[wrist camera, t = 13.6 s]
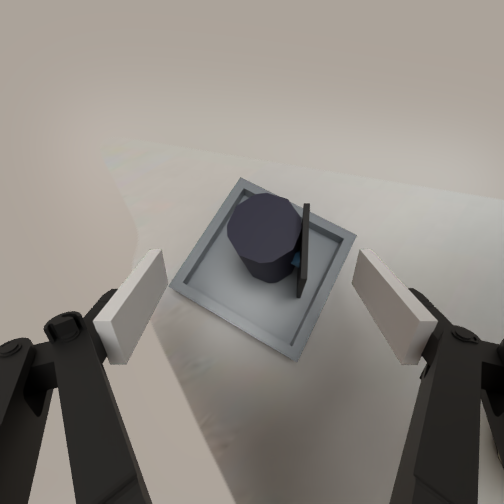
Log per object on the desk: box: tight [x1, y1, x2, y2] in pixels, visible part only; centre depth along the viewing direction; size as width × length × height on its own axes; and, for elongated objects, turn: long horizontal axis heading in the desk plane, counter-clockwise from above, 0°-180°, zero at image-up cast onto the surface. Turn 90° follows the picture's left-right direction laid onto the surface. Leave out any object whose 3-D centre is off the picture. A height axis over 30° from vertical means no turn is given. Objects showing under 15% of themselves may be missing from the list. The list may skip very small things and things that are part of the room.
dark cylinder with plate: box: [227, 193, 310, 298], centre depth 22 cm, size 8×6×10 cm
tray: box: [169, 177, 357, 362], centre depth 26 cm, size 14×14×2 cm
